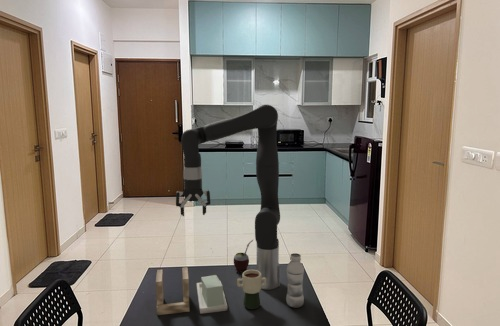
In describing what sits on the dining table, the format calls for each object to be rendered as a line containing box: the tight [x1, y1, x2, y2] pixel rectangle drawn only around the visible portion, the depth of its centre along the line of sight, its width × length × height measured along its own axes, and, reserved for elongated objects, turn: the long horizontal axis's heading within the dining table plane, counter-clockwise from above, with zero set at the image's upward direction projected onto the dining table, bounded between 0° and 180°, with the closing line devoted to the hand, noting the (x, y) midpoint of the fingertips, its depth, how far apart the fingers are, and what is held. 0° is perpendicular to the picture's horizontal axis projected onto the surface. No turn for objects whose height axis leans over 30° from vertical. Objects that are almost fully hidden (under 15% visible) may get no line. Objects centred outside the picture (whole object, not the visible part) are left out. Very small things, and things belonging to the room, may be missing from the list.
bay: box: [155, 266, 191, 316], centre depth 135 cm, size 12×12×12 cm
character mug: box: [236, 269, 266, 310], centre depth 134 cm, size 11×7×13 cm, turn 93°
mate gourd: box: [233, 239, 254, 274], centre depth 164 cm, size 8×8×15 cm
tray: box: [196, 280, 228, 314], centre depth 141 cm, size 10×20×2 cm, turn 12°
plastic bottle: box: [285, 252, 305, 309], centre depth 134 cm, size 6×7×20 cm
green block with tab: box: [200, 274, 224, 307], centre depth 140 cm, size 6×17×7 cm, turn 17°
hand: (193, 215), depth 151 cm, fingers open, 8 cm apart
